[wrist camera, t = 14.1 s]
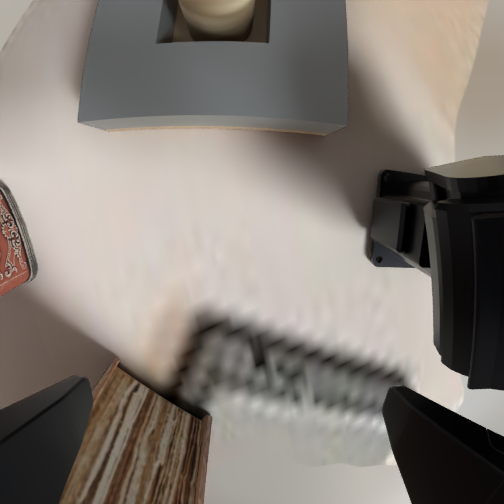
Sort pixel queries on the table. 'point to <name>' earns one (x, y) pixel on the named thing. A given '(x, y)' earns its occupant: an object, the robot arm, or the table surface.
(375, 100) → the table surface
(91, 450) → the book
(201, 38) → the wooden pin
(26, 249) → the lighter
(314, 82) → the grey square-holed block
